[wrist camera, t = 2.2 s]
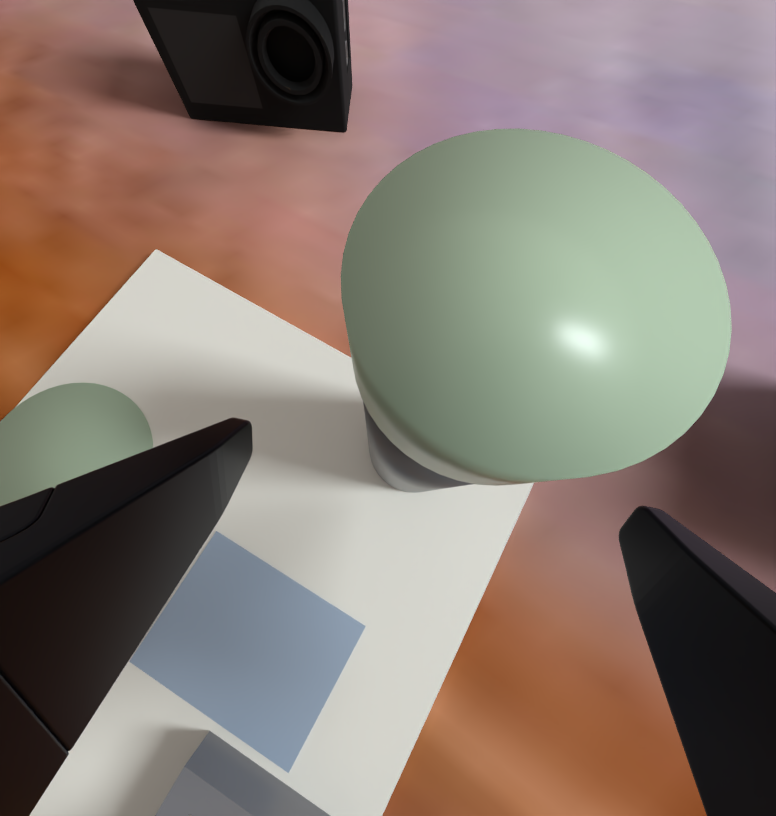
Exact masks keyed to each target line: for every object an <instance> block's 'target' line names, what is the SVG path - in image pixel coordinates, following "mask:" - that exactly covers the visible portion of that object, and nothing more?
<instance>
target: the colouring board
mask: <svg viewBox="0 0 776 816" xmlns="http://www.w3.org/2000/svg"><path fill="white" fill-rule="evenodd" d="M232 417H235V418H240V419H245V420H249V421H250V422H251V424H252V442H253V451H252V456H251V458H250V461H249V463H248V465H247V467H246V469H245V471H244V473H243V475H242V477H241V479H240V481H239V483H238V485H237V487H236V489H235V491H234V493H233V495H232V497H231V499H230V501H229V503H228V505H227V507H226V509H225V511H224V513H223V514H222V516H221V518H220V519H219V521H218V523H217V524H216V526H215V527H214V529H213V531H212V532H211V534H210V535H209V537H208V538H207V540H206V541H205V543H204V545H203V546H202V548H201V549H200V551H199V552H198V554H197V555H196V557H195V559H194V560H193V562H192V563H191V565H190V566H189V568H188V569H187V571H186V573H185V574H184V576H183V577H182V579H181V580H180V582H179V583H178V585H177V586H176V588H175V590H174V591H173V593H172V594H171V596H170V597H169V599H168V600H167V602H166V604H165V605H164V607H163V608H162V610H161V611H160V613H159V614H158V616H157V618H156V619H155V621H154V622H153V624H152V625H151V627H150V628H149V630H148V632H147V633H146V635H145V636H144V638H143V639H142V641H141V642H140V644H139V646H138V647H137V649H136V650H135V652H134V653H133V655H132V656H131V658H130V659H129V661H128V663H127V664H126V666H125V667H124V669H123V670H122V672H121V673H120V675H119V677H118V678H117V680H116V681H115V683H114V684H113V686H112V687H111V689H110V691H109V692H108V694H107V695H106V697H105V698H104V700H103V701H102V703H101V705H100V706H99V708H98V709H97V711H96V712H95V714H94V715H93V717H92V719H91V720H90V722H89V723H88V725H87V726H86V728H85V729H84V731H83V733H82V734H81V736H80V737H79V739H78V740H77V742H76V743H75V745H74V746H73V748H72V749H71V750H70V751H68V752H69V755H68V756H67V758H66V759H65V761H64V763H63V764H62V766H61V767H60V769H59V770H58V772H57V773H56V775H55V777H54V778H53V780H52V781H51V783H50V784H49V786H48V787H47V789H46V791H45V792H44V794H43V795H42V797H41V798H40V800H39V801H38V803H37V805H36V806H35V808H34V809H33V811H32V812H31V814H30V815H29V816H155V815H156V813H157V811H158V810H159V808H160V806H161V805H162V803H163V801H164V799H165V798H166V796H167V794H168V793H169V791H170V789H171V788H172V786H173V784H174V783H175V781H176V779H177V777H178V776H179V774H180V772H181V771H182V769H183V767H184V766H185V764H186V763H187V762H188V760H189V759H190V757H191V756H192V755H193V753H194V752H195V750H196V749H197V748H198V746H199V745H200V743H201V742H202V741H203V739H204V738H205V736H206V735H207V734H208V732H209V731H211V732H212V733H214V734H215V735H217V736H218V737H220V738H221V739H222V740H224V741H225V742H227V743H228V744H229V745H231V746H232V747H234V748H235V749H237V750H238V751H239V752H241V753H242V754H244V755H245V756H246V757H248V758H249V759H251V760H252V761H254V762H255V763H256V764H258V765H259V766H261V767H262V768H264V769H265V770H266V771H268V772H269V773H271V774H272V775H273V776H275V777H276V778H278V779H279V780H281V781H282V782H283V783H285V784H286V785H288V786H289V787H290V788H292V789H293V790H295V791H296V792H298V793H299V794H300V795H302V796H303V797H305V798H306V799H307V800H309V801H310V802H312V803H313V804H315V805H316V806H317V807H319V808H320V809H322V810H323V811H325V812H326V813H327V814H329V815H330V816H382V815H383V813H384V810H385V808H386V806H387V804H388V802H389V799H390V797H391V795H392V793H393V791H394V788H395V786H396V784H397V782H398V780H399V777H400V775H401V773H402V771H403V769H404V767H405V764H406V762H407V760H408V758H409V756H410V753H411V751H412V749H413V747H414V745H415V742H416V740H417V738H418V736H419V734H420V731H421V729H422V727H423V725H424V723H425V721H426V718H427V716H428V714H429V712H430V710H431V707H432V705H433V703H434V701H435V699H436V696H437V694H438V692H439V690H440V688H441V685H442V683H443V681H444V679H445V677H446V674H447V672H448V670H449V668H450V666H451V664H452V661H453V659H454V657H455V655H456V653H457V650H458V648H459V646H460V644H461V642H462V639H463V637H464V635H465V633H466V631H467V628H468V626H469V624H470V622H471V620H472V618H473V615H474V613H475V611H476V609H477V607H478V604H479V602H480V600H481V598H482V596H483V593H484V591H485V589H486V587H487V585H488V582H489V580H490V578H491V576H492V574H493V571H494V569H495V567H496V565H497V563H498V561H499V558H500V556H501V554H502V552H503V550H504V547H505V545H506V543H507V541H508V539H509V536H510V534H511V532H512V530H513V528H514V525H515V523H516V521H517V519H518V517H519V515H520V512H521V510H522V508H523V506H524V504H525V501H526V499H527V497H528V495H529V493H530V490H531V488H532V486H533V484H534V483H525V484H515V485H501V486H491V485H477V484H471V485H465V486H458V487H451V488H445V489H438V490H432V491H425V492H417V493H412V492H405V491H401V490H398V489H396V488H394V487H392V486H390V485H389V484H387V483H386V482H385V481H384V480H383V479H382V478H381V477H380V476H379V475H378V473H377V472H376V470H375V469H374V467H373V464H372V461H371V458H370V453H369V445H368V436H367V428H366V420H365V412H364V404H363V400H362V398H361V395H360V392H359V389H358V386H357V383H356V380H355V374H354V369H353V363H352V358H350V357H349V356H347V355H345V354H343V353H341V352H340V351H338V350H336V349H334V348H333V347H331V346H329V345H327V344H325V343H324V342H322V341H320V340H318V339H316V338H315V337H313V336H311V335H309V334H307V333H306V332H304V331H302V330H300V329H298V328H297V327H295V326H293V325H291V324H289V323H288V322H286V321H284V320H282V319H281V318H279V317H277V316H275V315H273V314H272V313H270V312H268V311H266V310H264V309H263V308H261V307H259V306H257V305H255V304H254V303H252V302H250V301H248V300H246V299H245V298H243V297H241V296H239V295H237V294H236V293H234V292H232V291H230V290H228V289H227V288H225V287H223V286H221V285H220V284H218V283H216V282H214V281H212V280H211V279H209V278H207V277H205V276H203V275H202V274H200V273H198V272H196V271H194V270H193V269H191V268H189V267H187V266H185V265H184V264H182V263H180V262H178V261H176V260H175V259H173V258H171V257H169V256H168V255H166V254H164V253H162V252H160V251H159V250H157V249H156V250H155V251H154V252H153V253H152V254H151V255H150V256H149V257H148V259H147V260H146V261H145V262H144V263H143V264H142V265H141V266H140V268H139V269H138V270H137V271H136V272H135V273H134V274H133V275H132V277H131V278H130V279H129V280H128V281H127V282H126V283H125V284H124V285H123V287H122V288H121V289H120V290H119V291H118V292H117V293H116V294H115V296H114V297H113V298H112V299H111V300H110V301H109V302H108V303H107V305H106V306H105V307H104V308H103V309H102V310H101V311H100V312H99V314H98V315H97V316H96V317H95V318H94V319H93V320H92V321H91V323H90V324H89V325H88V326H87V327H86V328H85V329H84V330H83V332H82V333H81V334H80V335H79V336H78V337H77V338H76V339H75V341H74V342H73V343H72V344H71V345H70V346H69V347H68V348H67V350H66V351H65V352H64V353H63V354H62V355H61V356H60V357H59V359H58V360H57V361H56V362H55V363H54V364H53V365H52V366H51V368H50V369H49V370H48V371H47V372H46V373H45V374H44V375H43V377H42V378H41V379H40V380H39V381H38V382H37V383H36V384H35V386H34V387H33V388H32V389H31V390H30V391H29V392H28V393H27V395H26V396H25V397H24V398H23V399H22V400H21V401H20V402H19V404H18V405H17V406H16V407H15V408H14V409H13V410H12V411H11V412H9V413H8V414H7V415H6V416H5V417H4V419H3V420H2V421H1V422H0V506H2V505H5V504H8V503H10V502H13V501H16V500H18V499H21V498H24V497H27V496H29V495H32V494H34V493H37V492H39V491H42V490H45V489H47V488H50V487H54V488H55V487H56V485H58V484H60V483H63V482H66V481H68V480H71V479H73V478H76V477H78V476H81V475H84V474H86V473H89V472H91V471H94V470H97V469H99V468H102V467H104V466H107V465H110V464H112V463H115V462H117V461H120V460H123V459H125V458H128V457H130V456H133V455H136V454H138V453H141V452H143V451H146V450H149V449H151V448H154V447H156V446H159V445H161V444H164V443H167V442H169V441H172V440H174V439H177V438H180V437H182V436H185V435H187V434H190V433H193V432H195V431H198V430H200V429H203V428H205V427H208V426H211V425H213V424H216V423H218V422H221V421H224V420H226V419H229V418H232ZM189 816H192V815H189Z"/></svg>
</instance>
